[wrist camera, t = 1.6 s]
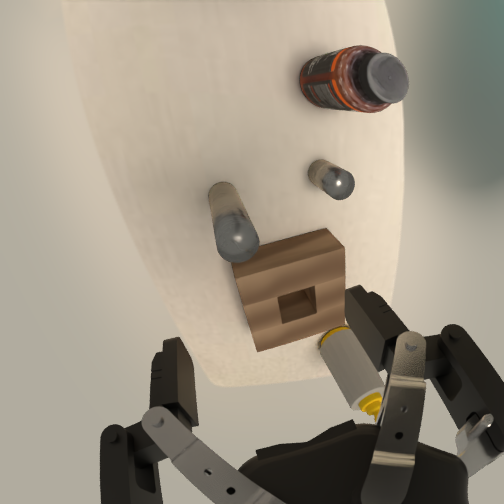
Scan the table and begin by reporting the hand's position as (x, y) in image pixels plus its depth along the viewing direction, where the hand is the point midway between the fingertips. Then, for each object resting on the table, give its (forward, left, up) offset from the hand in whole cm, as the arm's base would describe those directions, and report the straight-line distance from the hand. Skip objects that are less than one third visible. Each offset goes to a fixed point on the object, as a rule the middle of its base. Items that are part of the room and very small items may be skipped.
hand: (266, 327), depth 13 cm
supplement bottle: (-10, +13, -20) cm, 26 cm away
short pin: (0, +11, -19) cm, 22 cm away
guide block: (+13, +5, -19) cm, 24 cm away
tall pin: (0, 0, -19) cm, 19 cm away
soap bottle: (+28, +12, -20) cm, 36 cm away
